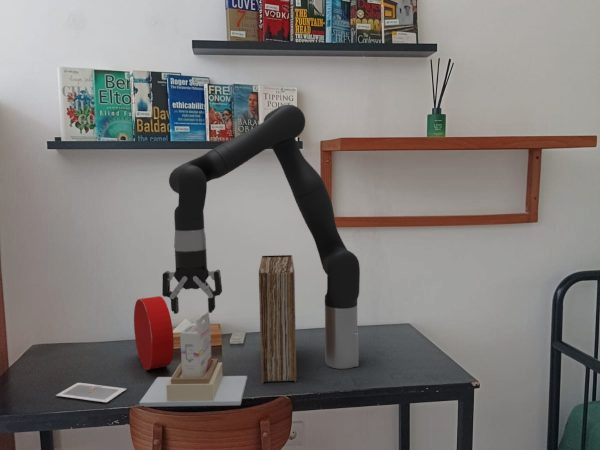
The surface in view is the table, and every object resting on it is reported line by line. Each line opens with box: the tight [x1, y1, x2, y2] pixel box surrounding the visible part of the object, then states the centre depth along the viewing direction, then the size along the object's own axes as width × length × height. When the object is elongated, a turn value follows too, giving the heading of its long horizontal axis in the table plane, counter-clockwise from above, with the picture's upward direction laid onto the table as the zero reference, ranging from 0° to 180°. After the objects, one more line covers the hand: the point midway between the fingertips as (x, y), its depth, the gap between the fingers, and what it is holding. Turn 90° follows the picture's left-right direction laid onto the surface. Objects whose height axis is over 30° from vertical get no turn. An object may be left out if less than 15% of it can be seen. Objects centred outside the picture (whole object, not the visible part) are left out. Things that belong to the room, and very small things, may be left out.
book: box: [258, 254, 297, 385], centre depth 140 cm, size 25×9×30 cm, turn 2°
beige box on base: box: [138, 358, 248, 408], centre depth 124 cm, size 24×15×6 cm, turn 90°
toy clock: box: [133, 295, 175, 371], centre depth 141 cm, size 20×6×20 cm, turn 32°
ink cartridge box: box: [179, 311, 212, 377], centre depth 123 cm, size 9×5×15 cm, turn 171°
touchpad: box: [55, 382, 127, 403], centre depth 124 cm, size 8×15×2 cm, turn 73°
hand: (193, 312), depth 122 cm, fingers open, 8 cm apart
